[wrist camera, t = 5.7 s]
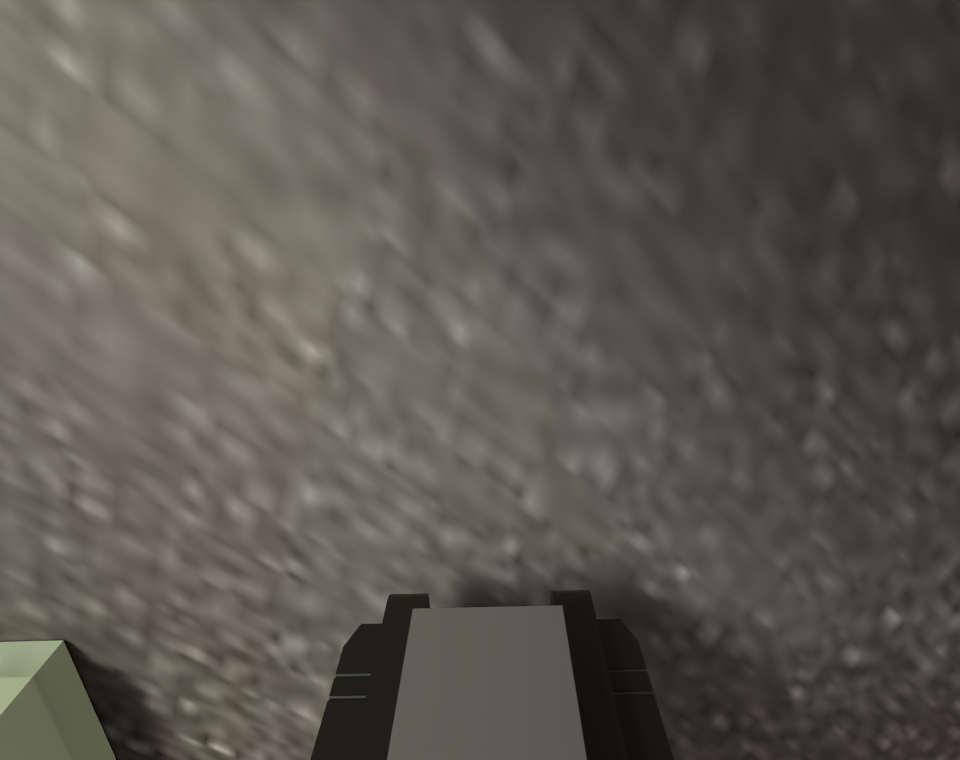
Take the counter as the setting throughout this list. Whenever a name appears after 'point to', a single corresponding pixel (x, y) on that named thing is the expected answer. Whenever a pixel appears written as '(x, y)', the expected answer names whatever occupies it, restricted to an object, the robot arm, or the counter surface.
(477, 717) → the cream and grey blocks
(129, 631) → the counter surface
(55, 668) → the tray
